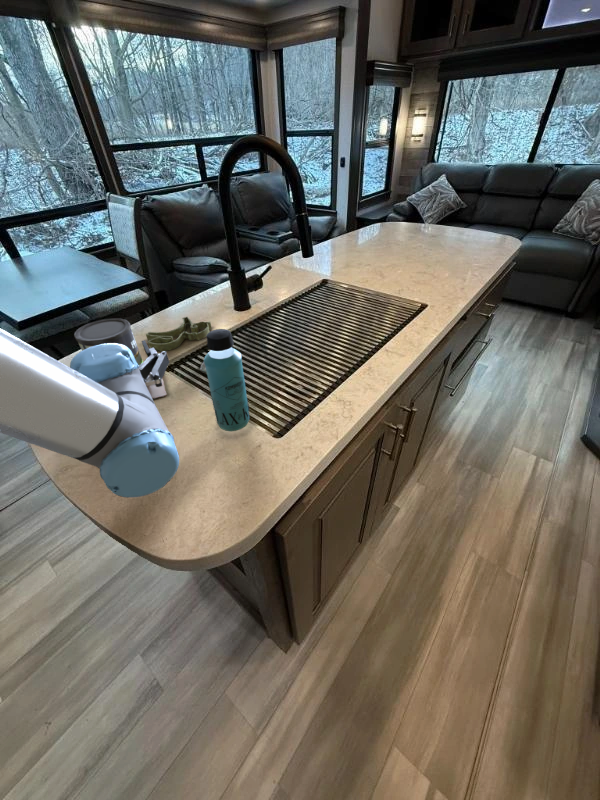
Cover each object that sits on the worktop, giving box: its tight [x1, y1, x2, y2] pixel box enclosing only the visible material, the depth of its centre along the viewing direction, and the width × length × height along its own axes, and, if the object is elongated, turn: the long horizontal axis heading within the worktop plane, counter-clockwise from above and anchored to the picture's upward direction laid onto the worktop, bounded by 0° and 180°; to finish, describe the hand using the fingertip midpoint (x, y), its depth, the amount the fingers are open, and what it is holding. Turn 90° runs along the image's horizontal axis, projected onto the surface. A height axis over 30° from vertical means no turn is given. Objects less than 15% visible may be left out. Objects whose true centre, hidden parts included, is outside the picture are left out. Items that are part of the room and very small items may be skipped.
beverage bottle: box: [203, 328, 251, 432], centre depth 58 cm, size 6×7×20 cm
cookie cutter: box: [145, 316, 212, 352], centre depth 94 cm, size 18×12×2 cm, turn 142°
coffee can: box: [73, 318, 149, 380], centre depth 71 cm, size 10×10×14 cm
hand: (112, 353), depth 73 cm, fingers open, 13 cm apart
